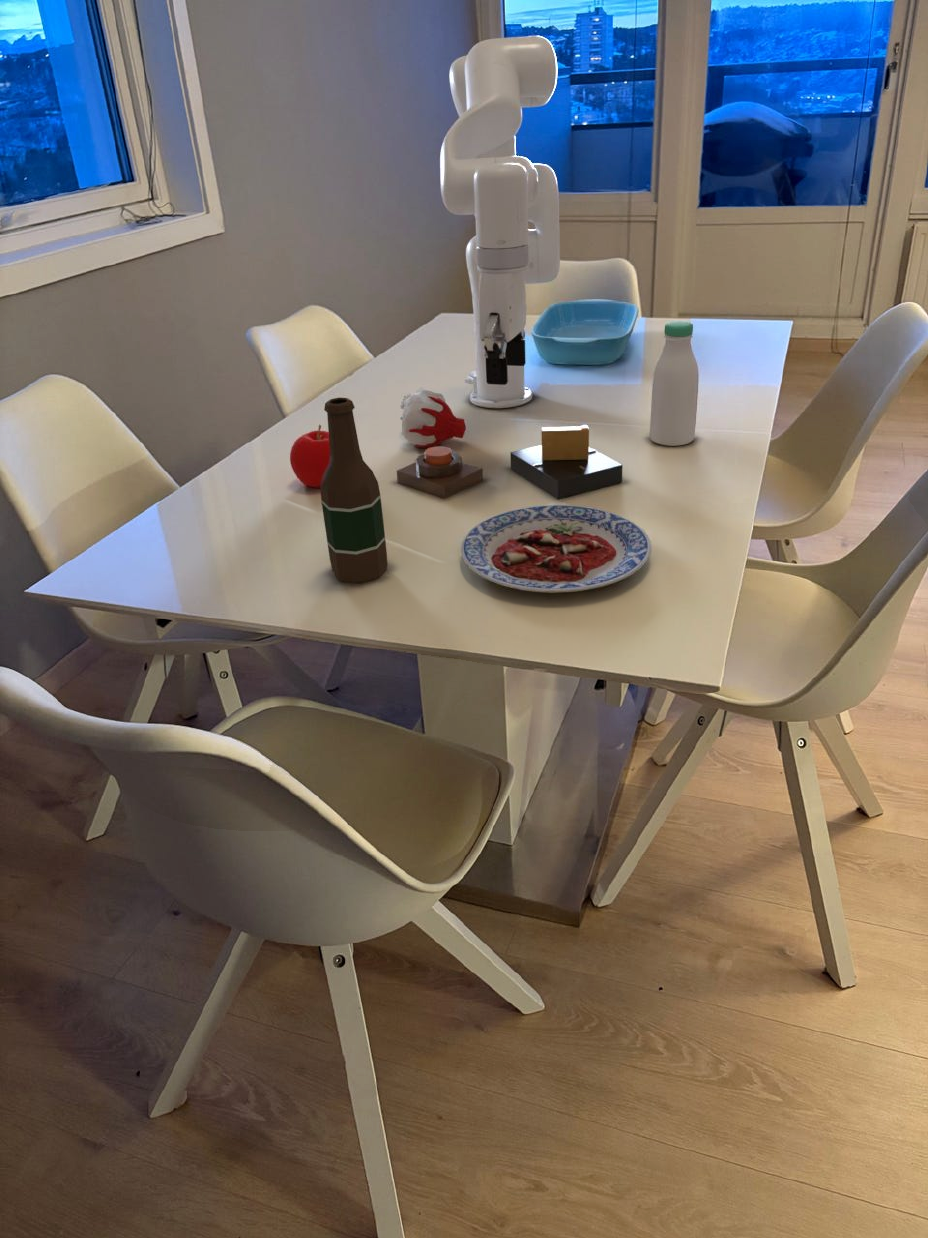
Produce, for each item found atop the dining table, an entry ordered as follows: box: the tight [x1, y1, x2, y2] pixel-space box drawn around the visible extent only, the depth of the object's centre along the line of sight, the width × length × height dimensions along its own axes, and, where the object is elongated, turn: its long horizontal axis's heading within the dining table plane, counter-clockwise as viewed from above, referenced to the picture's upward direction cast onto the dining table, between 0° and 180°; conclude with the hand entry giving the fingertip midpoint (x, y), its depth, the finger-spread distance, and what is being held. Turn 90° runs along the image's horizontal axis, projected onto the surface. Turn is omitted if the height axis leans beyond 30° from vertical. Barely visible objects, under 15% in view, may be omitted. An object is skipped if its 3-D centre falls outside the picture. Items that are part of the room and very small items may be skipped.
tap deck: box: [509, 444, 623, 500], centre depth 153 cm, size 15×12×3 cm
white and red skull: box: [400, 387, 467, 449], centre depth 168 cm, size 9×11×15 cm
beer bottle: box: [319, 397, 388, 584], centre depth 123 cm, size 8×8×24 cm
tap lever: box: [541, 424, 590, 461], centre depth 151 cm, size 8×2×5 cm, turn 86°
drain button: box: [423, 445, 453, 465], centre depth 153 cm, size 4×4×2 cm
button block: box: [396, 451, 484, 499], centre depth 154 cm, size 11×9×4 cm
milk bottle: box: [649, 320, 700, 447], centre depth 161 cm, size 8×8×20 cm
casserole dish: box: [530, 298, 639, 366], centre depth 217 cm, size 37×22×7 cm, turn 166°
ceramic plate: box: [460, 504, 652, 594], centre depth 129 cm, size 26×26×3 cm
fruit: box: [289, 424, 330, 489], centre depth 155 cm, size 9×9×10 cm
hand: (506, 374), depth 146 cm, fingers open, 9 cm apart
